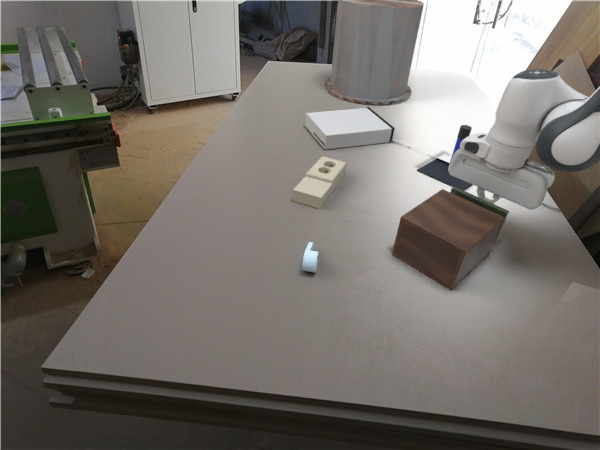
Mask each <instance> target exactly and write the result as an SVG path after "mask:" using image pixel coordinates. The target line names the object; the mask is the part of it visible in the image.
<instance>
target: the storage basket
mask: <svg viewBox="0 0 600 450" xmlns="http://www.w3.org/2000/svg"><path fill="white" fill-rule="evenodd" d="M424 5H425V3H424V2H422V1H421V0H337V7H336V18H335V28H334V29H335V30H334V38H333V39H334V40H333V51H332V62H331V71H330V77H328V78H327V79H326V80H325V82H324V90H325V91H326V92H327V93H328V94H329V95H331V96H332V97H334V98H337V99H338V100H342V101H344V102H349V103H353V104H357V105H358V104H359V105H364V106H391V105H392V106H393V105H399V104H401V103H405V102H407V101H408V100H409V99H410V98H411V95H412V88H411V87H410V86H409V85H408V83H409V78H410V73H411V67H412V63H413V58H414V54H415V49H416V45H417V44H416V43H417V40H418V35H419V30H420V24H421V19H422V14H423V12H424V11H423V10H424Z"/></svg>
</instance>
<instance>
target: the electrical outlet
mask: <svg viewBox="0 0 600 450" xmlns="http://www.w3.org/2000/svg"><path fill="white" fill-rule="evenodd" d="M347 164H348V162H346V161H345V160H339V159H337V158H336V159H335V158H332V157H327V156H323V155H322V156H321V157H320V158H319V159H318V160H317V161H316V162H315V163H314V164H313V165H312V166H311V168H310V169H308V171H307V172H306V173H305V176H304V177H303V178H302V180H300V182H299V183H298V184H297V185H296V186H295V187H294V188H293V189H292V202H295V203H299V204H302V205H305V206H309V207H312V208H316V209H318V210H321V209H322V208H323V206H324V205H325V203H326V202H327V201H328V199H329V198H330V197H331V195H332V194H333V193H334V192H335V190H336V189H337V187H338V186H339V185H340V183H341V182H342V181H343V180H344V178H345V177H346V172H347V166H348V165H347Z"/></svg>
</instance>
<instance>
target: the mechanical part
mask: <svg viewBox="0 0 600 450" xmlns="http://www.w3.org/2000/svg"><path fill="white" fill-rule="evenodd" d="M318 262H319V251H316V250H314V242H313V241H308V243H307V245H306V247H305V250H304V254H303V258H302V266H301V270H302V272H303V271H305V272H309V273H317V267H318Z"/></svg>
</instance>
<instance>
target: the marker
mask: <svg viewBox="0 0 600 450" xmlns="http://www.w3.org/2000/svg"><path fill="white" fill-rule="evenodd" d="M472 129H473V128H472V127H471V126H470V125H468V124H462V125H460V127H459V130H458V133H457V136H456V137H457V138H456V142H455V144H454V147H453V150H452V154H451V158H450V160H449V163H450V162H451V159H452V157H453V155H454V153H455V152H456V151H457V150H458V149H460V143H461V141H462V140H463V139H465V138H466V137H468V136H470V135H471V132H472ZM448 168H449V167H448ZM448 172H449V171H448Z"/></svg>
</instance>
